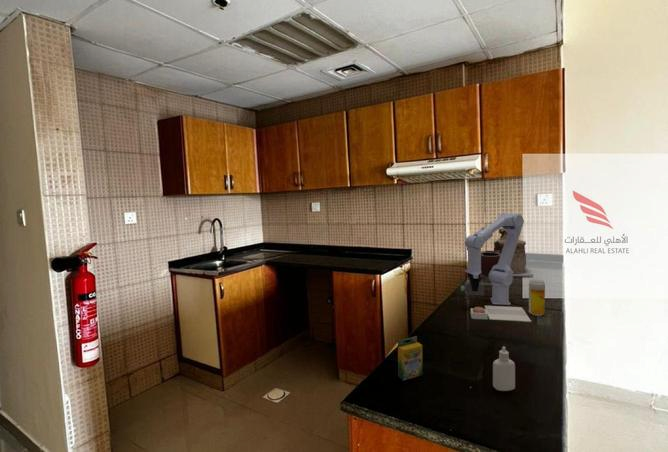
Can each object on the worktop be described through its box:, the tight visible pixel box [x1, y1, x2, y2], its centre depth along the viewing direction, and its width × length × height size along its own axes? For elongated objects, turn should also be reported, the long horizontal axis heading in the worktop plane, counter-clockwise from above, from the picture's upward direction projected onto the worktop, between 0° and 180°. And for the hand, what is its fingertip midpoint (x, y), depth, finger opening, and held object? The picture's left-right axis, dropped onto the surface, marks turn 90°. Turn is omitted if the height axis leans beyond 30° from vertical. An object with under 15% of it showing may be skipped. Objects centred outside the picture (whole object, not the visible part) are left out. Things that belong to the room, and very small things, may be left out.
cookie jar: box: [493, 227, 534, 278], centre depth 229 cm, size 25×25×32 cm
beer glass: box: [528, 278, 546, 317], centre depth 155 cm, size 6×6×15 cm
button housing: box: [470, 307, 489, 320], centre depth 155 cm, size 6×6×2 cm
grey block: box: [460, 281, 485, 296], centre depth 165 cm, size 4×10×5 cm, turn 73°
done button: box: [474, 306, 484, 313], centre depth 155 cm, size 4×4×2 cm
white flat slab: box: [484, 305, 532, 323], centre depth 158 cm, size 18×16×1 cm
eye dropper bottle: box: [492, 346, 516, 392], centre depth 99 cm, size 4×6×12 cm
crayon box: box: [397, 335, 424, 381], centre depth 108 cm, size 7×3×12 cm, turn 114°
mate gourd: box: [480, 251, 501, 286], centre depth 209 cm, size 16×14×20 cm
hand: (474, 289), depth 165 cm, fingers closed on grey block, 3 cm apart
